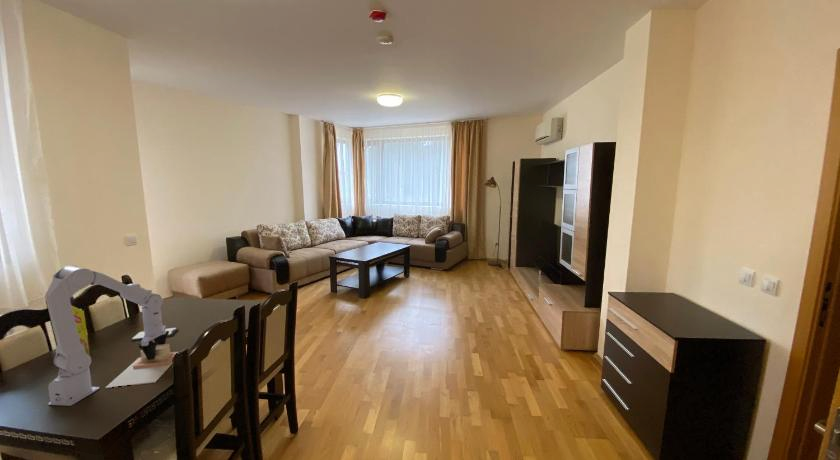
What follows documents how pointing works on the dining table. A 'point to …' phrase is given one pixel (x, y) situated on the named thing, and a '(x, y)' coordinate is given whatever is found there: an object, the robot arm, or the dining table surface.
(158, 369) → the mat
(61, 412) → the dining table surface
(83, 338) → the food package
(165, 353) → the block
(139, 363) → the frame
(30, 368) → the dining table surface
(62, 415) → the dining table surface
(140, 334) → the phone case
